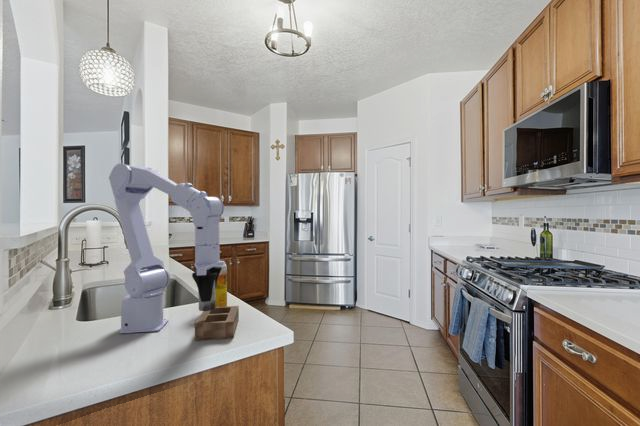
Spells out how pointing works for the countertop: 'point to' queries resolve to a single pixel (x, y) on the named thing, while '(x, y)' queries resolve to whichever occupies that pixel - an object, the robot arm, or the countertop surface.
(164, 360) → the countertop surface
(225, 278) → the beer glass
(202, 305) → the peg
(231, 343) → the countertop surface
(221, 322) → the socket block
